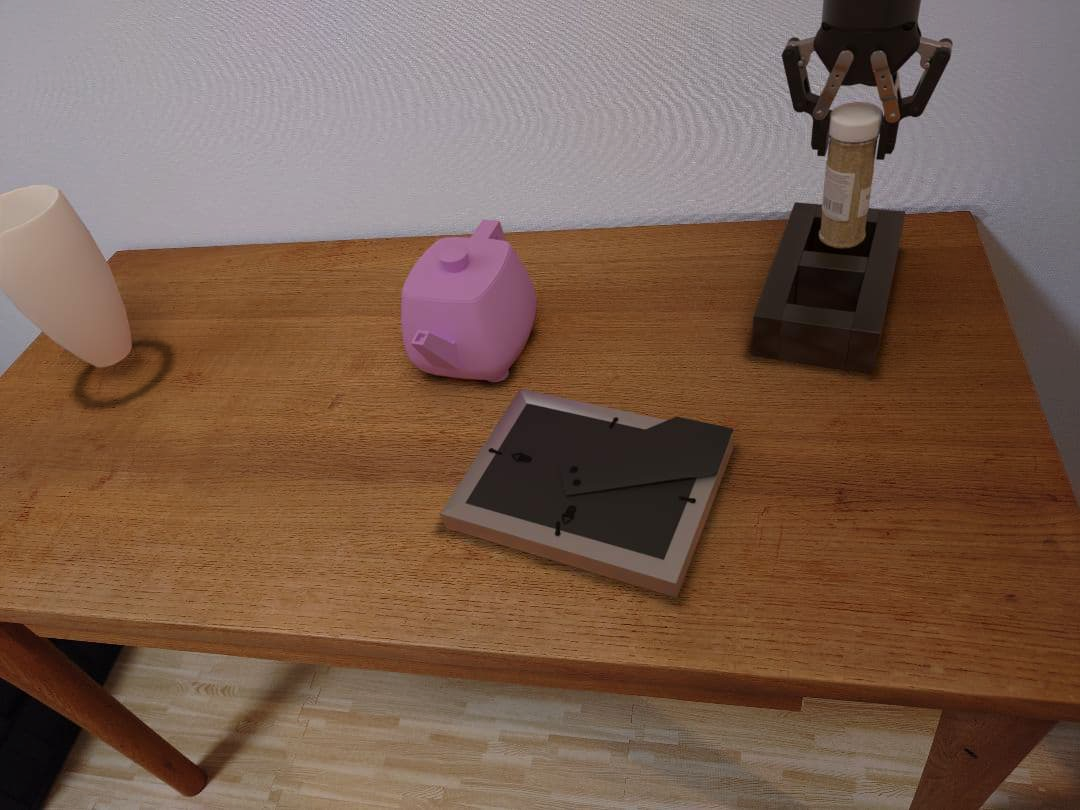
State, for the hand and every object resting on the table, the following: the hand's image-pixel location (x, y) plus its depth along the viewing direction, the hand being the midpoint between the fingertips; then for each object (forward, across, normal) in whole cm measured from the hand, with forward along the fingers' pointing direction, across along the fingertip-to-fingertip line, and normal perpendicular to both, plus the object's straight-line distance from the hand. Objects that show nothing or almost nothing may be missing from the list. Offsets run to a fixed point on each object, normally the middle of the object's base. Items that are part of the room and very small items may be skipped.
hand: (851, 153), depth 75 cm
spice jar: (+10, 0, 0) cm, 10 cm away
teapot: (+14, -33, -20) cm, 41 cm away
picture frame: (+14, -15, -34) cm, 40 cm away
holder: (+14, 0, -4) cm, 15 cm away
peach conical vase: (+14, -73, -33) cm, 82 cm away
